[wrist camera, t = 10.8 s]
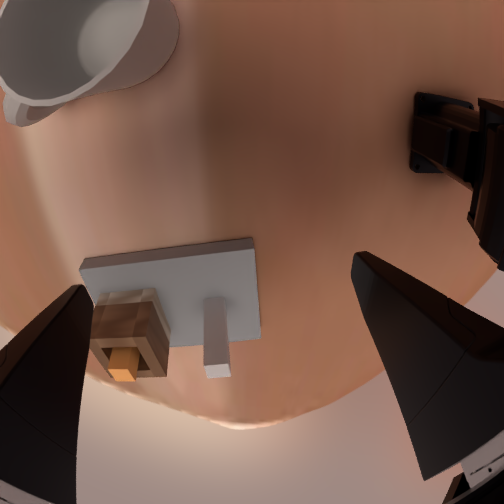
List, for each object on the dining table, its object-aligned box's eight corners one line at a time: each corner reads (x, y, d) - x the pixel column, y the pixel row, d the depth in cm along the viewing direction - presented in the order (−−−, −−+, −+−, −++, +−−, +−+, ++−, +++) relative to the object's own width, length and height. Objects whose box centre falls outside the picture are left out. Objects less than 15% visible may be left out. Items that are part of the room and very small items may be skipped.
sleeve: (155, 287, 22) (145, 336, 18) (171, 330, 25) (166, 376, 21) (100, 293, 22) (83, 339, 18) (121, 333, 25) (110, 377, 21)
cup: (204, 35, 14) (193, 0, 7) (93, 140, 17) (22, 191, 9) (135, -29, 10) (84, -83, 3) (33, 79, 13) (-54, 100, 6)
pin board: (252, 237, 22) (267, 314, 16) (259, 326, 28) (271, 398, 21) (84, 258, 22) (49, 330, 15) (122, 338, 27) (109, 405, 21)
